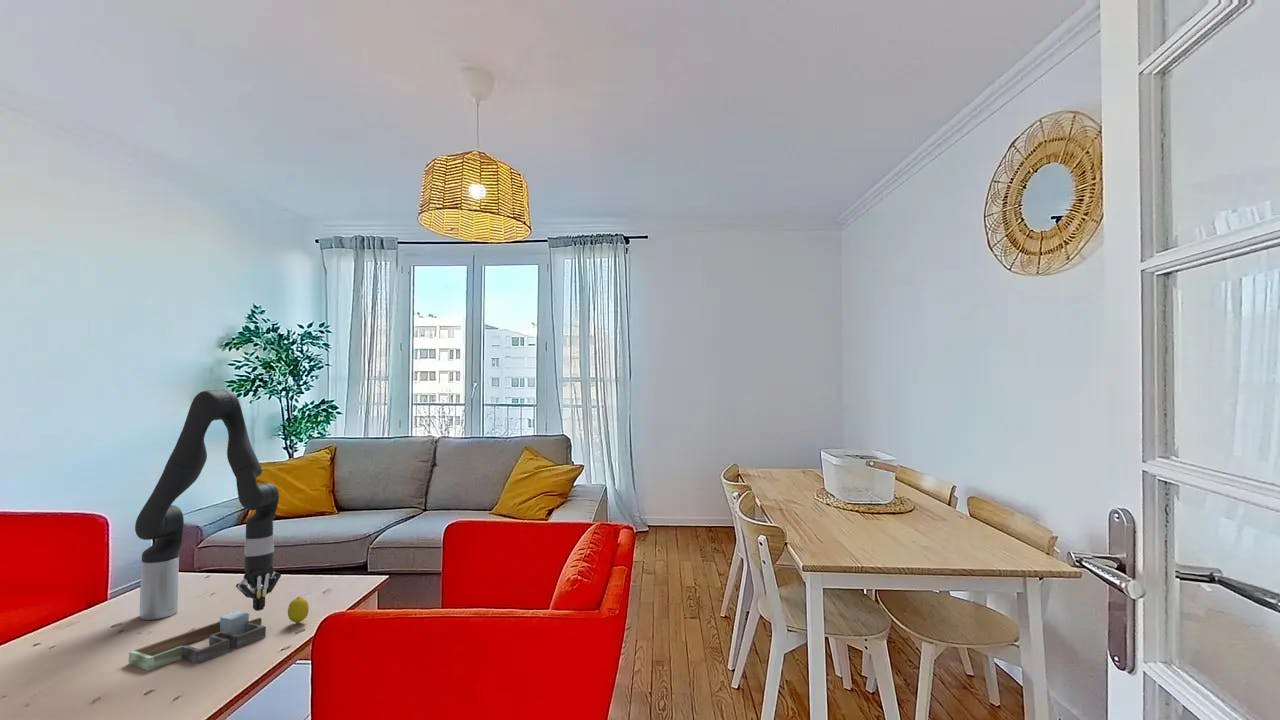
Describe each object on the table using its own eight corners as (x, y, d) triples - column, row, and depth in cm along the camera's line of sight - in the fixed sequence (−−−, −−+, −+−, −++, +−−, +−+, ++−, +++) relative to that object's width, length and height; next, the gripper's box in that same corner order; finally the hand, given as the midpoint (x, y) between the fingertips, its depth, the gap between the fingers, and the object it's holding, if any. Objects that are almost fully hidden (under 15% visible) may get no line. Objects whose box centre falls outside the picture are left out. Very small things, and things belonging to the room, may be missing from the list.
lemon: (299, 628, 182) (299, 600, 183) (283, 626, 183) (283, 599, 184) (312, 620, 188) (313, 594, 188) (296, 619, 189) (297, 593, 189)
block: (219, 634, 178) (220, 616, 178) (237, 628, 182) (237, 611, 183) (230, 637, 176) (231, 619, 176) (248, 631, 180) (248, 613, 181)
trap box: (128, 663, 159) (129, 652, 159) (241, 623, 186) (241, 613, 186) (165, 676, 153) (166, 663, 153) (277, 632, 179) (277, 622, 179)
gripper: (272, 545, 194) (271, 601, 193) (229, 556, 182) (228, 615, 181) (288, 547, 191) (287, 604, 190) (245, 558, 179) (245, 619, 178)
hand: (258, 609), depth 186 cm, fingers closed
